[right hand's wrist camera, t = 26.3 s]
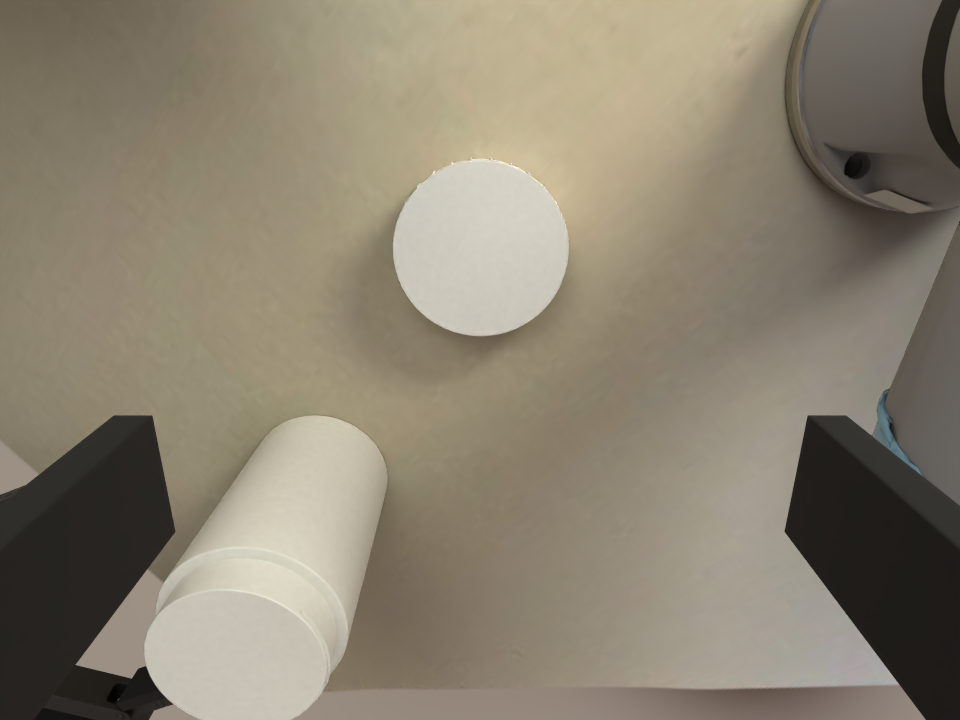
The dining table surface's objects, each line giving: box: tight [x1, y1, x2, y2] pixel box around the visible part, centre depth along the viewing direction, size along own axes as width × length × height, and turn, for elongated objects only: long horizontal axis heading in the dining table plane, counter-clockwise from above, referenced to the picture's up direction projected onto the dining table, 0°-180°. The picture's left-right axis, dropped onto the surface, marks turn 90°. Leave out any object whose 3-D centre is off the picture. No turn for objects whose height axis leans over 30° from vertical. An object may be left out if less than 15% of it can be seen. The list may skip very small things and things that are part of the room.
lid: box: [393, 158, 569, 336], centre depth 36 cm, size 10×10×2 cm
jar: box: [144, 415, 388, 720], centre depth 35 cm, size 9×9×16 cm
